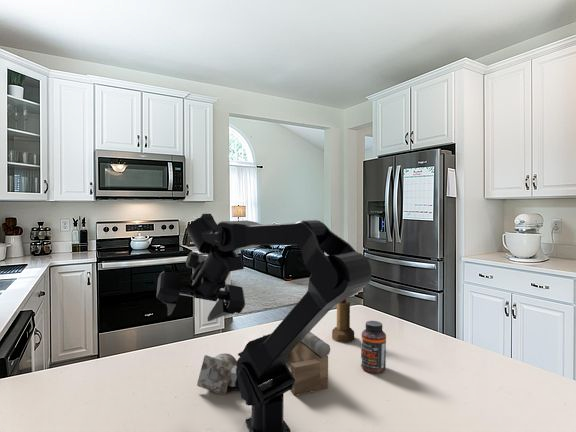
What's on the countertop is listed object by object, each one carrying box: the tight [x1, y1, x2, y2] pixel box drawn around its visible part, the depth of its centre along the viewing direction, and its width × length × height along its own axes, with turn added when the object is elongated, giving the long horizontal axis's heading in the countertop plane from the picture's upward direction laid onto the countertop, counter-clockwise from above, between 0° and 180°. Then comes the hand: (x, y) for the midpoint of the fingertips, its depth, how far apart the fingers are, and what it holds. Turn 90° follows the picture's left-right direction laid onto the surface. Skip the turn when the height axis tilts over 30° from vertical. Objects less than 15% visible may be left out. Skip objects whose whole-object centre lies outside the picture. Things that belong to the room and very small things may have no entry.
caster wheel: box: [196, 353, 239, 396], centre depth 80 cm, size 7×11×10 cm
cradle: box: [263, 331, 331, 397], centre depth 85 cm, size 20×8×10 cm, turn 23°
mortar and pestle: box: [331, 299, 355, 343], centre depth 107 cm, size 7×6×18 cm
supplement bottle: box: [360, 320, 387, 374], centre depth 87 cm, size 6×6×11 cm
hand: (188, 316), depth 80 cm, fingers open, 9 cm apart
